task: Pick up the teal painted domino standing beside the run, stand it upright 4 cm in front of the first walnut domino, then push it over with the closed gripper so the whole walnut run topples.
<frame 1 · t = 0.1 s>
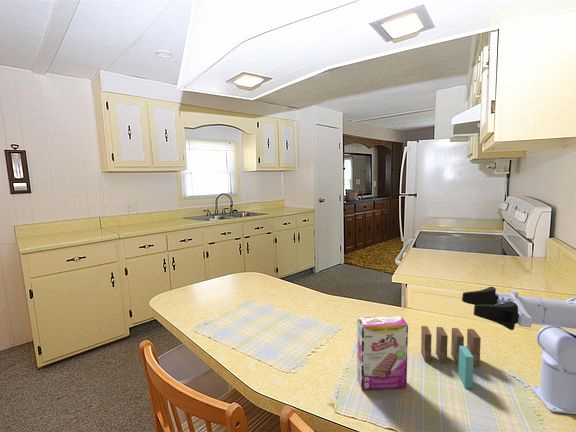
hand: (468, 303, 71), 22 cm above the breakfast bar, tool horizontal, fingers open, 7 cm apart
candy bar box: (381, 384, 78), on the breakfast bar
walnut domino 3: (456, 359, 87), on the breakfast bar
walnut domino 4: (441, 358, 87), on the breakfast bar
walnut domino 5: (425, 357, 88), on the breakfast bar
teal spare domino: (465, 382, 77), on the breakfast bar
walnut domino 2: (472, 361, 86), on the breakfast bar
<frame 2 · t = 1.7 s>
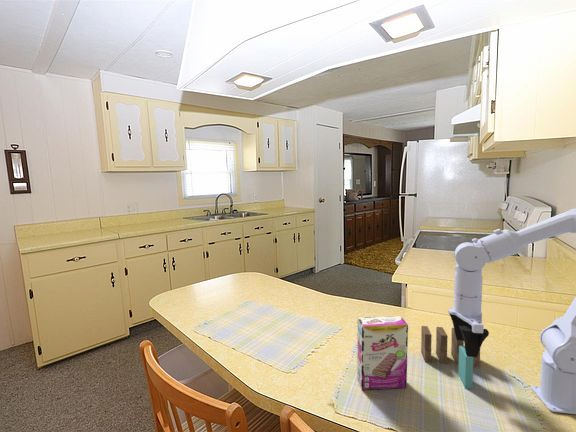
hand: (466, 347, 76), 9 cm above the breakfast bar, tool pointing down, fingers open, 7 cm apart
nothing on the breakfast bar moved.
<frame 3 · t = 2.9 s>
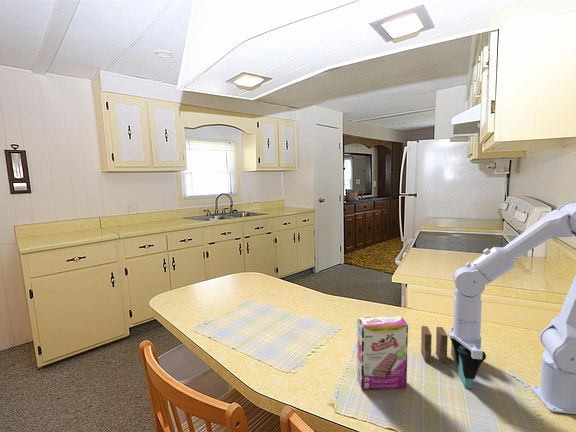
hand: (465, 370, 77), 3 cm above the breakfast bar, tool pointing down, fingers closed on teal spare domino, 5 cm apart
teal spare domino: (465, 382, 77), on the breakfast bar, touching gripper
everything else where it was.
when the fingers open (3 cm above the breakfast bar, at t = 7.0 s): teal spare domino stays where it is, on the breakfast bar.
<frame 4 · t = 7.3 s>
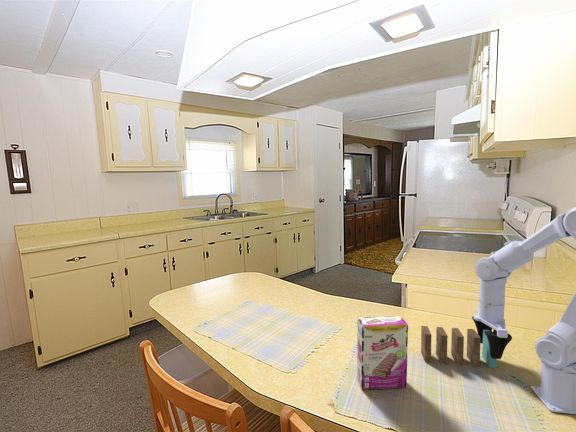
hand: (489, 350, 85), 3 cm above the breakfast bar, tool pointing down, fingers open, 7 cm apart
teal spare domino: (489, 362, 85), on the breakfast bar
everything else where it was.
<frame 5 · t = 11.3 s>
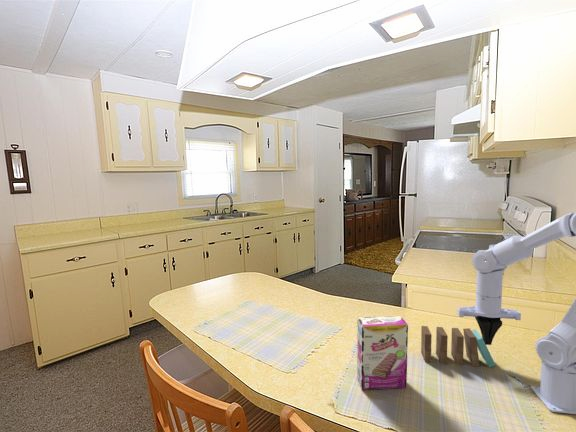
hand: (486, 343, 85), 5 cm above the breakfast bar, tool pointing down, fingers closed
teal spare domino: (488, 361, 85), on the breakfast bar, tilted 24°
walnut domino 2: (472, 360, 86), on the breakfast bar, tilted 8°
everything else where it was.
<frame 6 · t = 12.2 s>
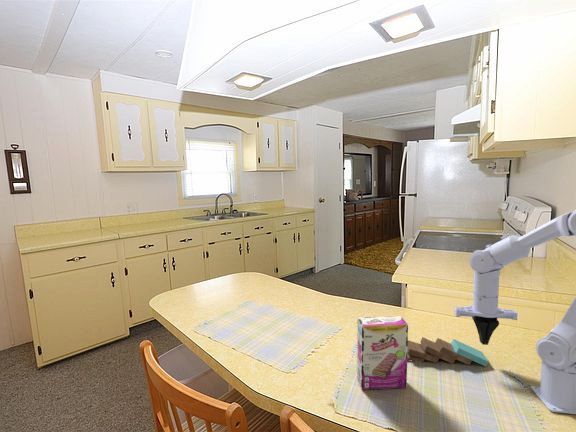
hand: (483, 342, 85), 5 cm above the breakfast bar, tool pointing down, fingers closed
walnut domino 3: (451, 356, 87), point 1 cm above the breakfast bar, tilted 67°, touching walnut domino 2, walnut domino 4
walnut domino 4: (435, 355, 88), point 1 cm above the breakfast bar, tilted 75°, touching walnut domino 3, walnut domino 5
walnut domino 5: (422, 356, 88), on the breakfast bar, tilted 90°, touching walnut domino 4
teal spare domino: (484, 359, 85), point 1 cm above the breakfast bar, tilted 67°, touching walnut domino 2
walnut domino 2: (467, 357, 86), point 1 cm above the breakfast bar, tilted 67°, touching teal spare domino, walnut domino 3
everything else where it was.
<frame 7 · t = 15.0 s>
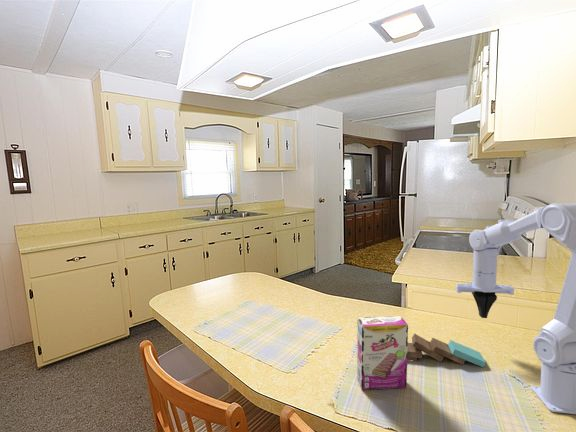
hand: (482, 316, 91), 9 cm above the breakfast bar, tool pointing down, fingers closed
walnut domino 3: (441, 355, 88), point 1 cm above the breakfast bar, tilted 64°
walnut domino 4: (420, 350, 89), point 2 cm above the breakfast bar, tilted 90°
walnut domino 5: (415, 355, 89), on the breakfast bar, tilted 90°
walnut domino 2: (462, 357, 86), point 1 cm above the breakfast bar, tilted 69°, touching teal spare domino
at the end: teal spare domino tilted 70°; walnut domino 3 tilted 65°; walnut domino 5 tilted 90° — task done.
